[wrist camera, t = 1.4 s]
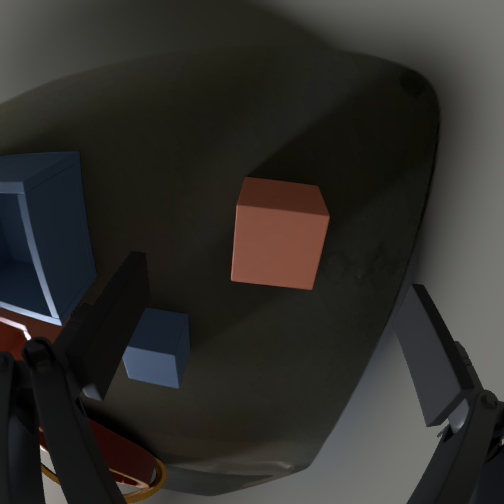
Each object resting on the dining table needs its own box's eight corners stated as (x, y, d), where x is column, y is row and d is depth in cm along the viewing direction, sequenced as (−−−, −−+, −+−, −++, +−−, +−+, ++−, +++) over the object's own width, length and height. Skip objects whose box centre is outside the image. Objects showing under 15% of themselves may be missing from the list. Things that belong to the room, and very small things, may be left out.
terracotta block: (244, 176, 20) (236, 204, 16) (318, 185, 20) (330, 216, 16) (238, 241, 23) (230, 281, 19) (305, 248, 23) (312, 290, 19)
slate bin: (-10, 156, 20) (-60, 183, 14) (79, 150, 20) (22, 181, 14) (13, 260, 26) (-23, 298, 20) (97, 276, 26) (62, 326, 20)
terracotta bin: (-8, 264, 27) (-42, 299, 21) (59, 280, 27) (25, 325, 21) (21, 334, 33) (-2, 368, 27) (86, 355, 33) (65, 398, 27)
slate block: (136, 305, 27) (117, 343, 23) (188, 313, 27) (175, 355, 23) (143, 341, 30) (128, 378, 26) (190, 349, 30) (179, 389, 26)
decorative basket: (14, 384, 47) (-12, 436, 35) (32, 364, 33) (-11, 448, 21) (133, 458, 60) (116, 507, 48) (206, 465, 45) (188, 535, 33)
